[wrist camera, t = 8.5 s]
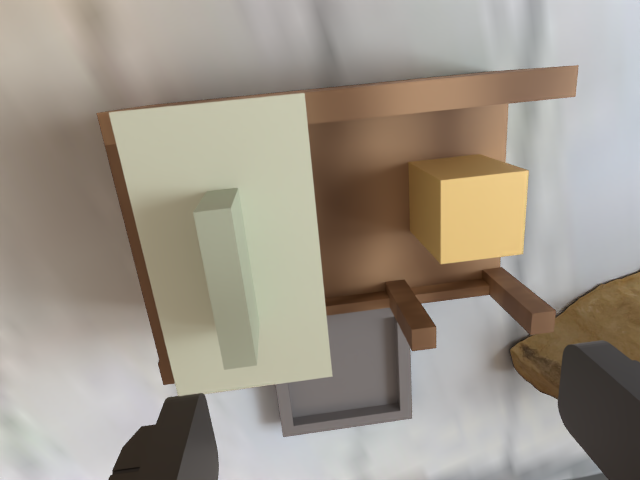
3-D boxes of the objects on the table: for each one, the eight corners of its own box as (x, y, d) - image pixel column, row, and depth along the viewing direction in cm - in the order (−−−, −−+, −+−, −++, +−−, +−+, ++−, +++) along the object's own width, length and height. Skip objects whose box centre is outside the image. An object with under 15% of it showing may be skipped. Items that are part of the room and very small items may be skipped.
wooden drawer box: (494, 71, 25) (581, 65, 18) (486, 272, 29) (554, 332, 22) (148, 105, 24) (93, 113, 17) (191, 309, 28) (163, 385, 21)
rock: (508, 425, 30) (655, 432, 30) (573, 440, 22) (776, 451, 22) (496, 273, 34) (628, 278, 34) (549, 238, 26) (725, 245, 25)
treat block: (479, 154, 24) (528, 170, 19) (477, 223, 26) (523, 254, 21) (408, 162, 24) (440, 180, 19) (409, 231, 25) (440, 264, 21)
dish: (402, 293, 29) (409, 303, 28) (406, 404, 32) (412, 418, 31) (266, 311, 28) (265, 322, 27) (283, 422, 31) (283, 437, 30)
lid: (303, 92, 17) (310, 94, 13) (330, 366, 21) (341, 423, 17) (116, 111, 16) (71, 118, 13) (182, 386, 21) (162, 449, 17)
